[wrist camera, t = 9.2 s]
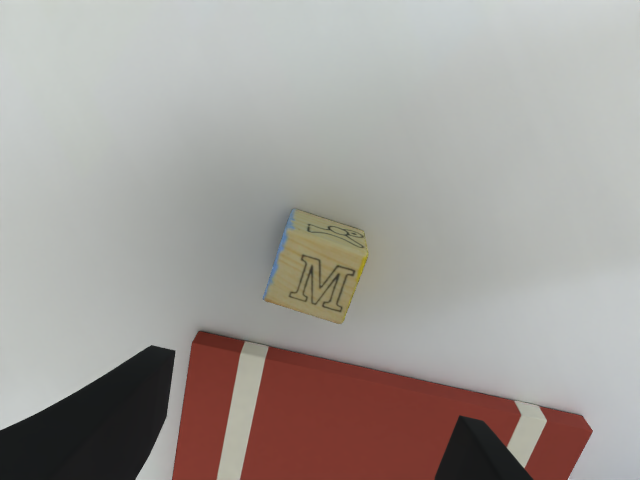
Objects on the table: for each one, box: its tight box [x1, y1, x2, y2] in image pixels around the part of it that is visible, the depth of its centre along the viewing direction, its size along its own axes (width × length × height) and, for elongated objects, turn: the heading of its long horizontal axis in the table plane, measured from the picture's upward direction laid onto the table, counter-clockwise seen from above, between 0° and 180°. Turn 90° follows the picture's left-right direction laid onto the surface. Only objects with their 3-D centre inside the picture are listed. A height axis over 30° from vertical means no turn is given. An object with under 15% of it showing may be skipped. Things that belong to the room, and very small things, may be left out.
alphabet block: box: [263, 209, 368, 324], centre depth 18 cm, size 3×3×3 cm
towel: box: [172, 331, 593, 480], centre depth 22 cm, size 18×11×1 cm, turn 78°
